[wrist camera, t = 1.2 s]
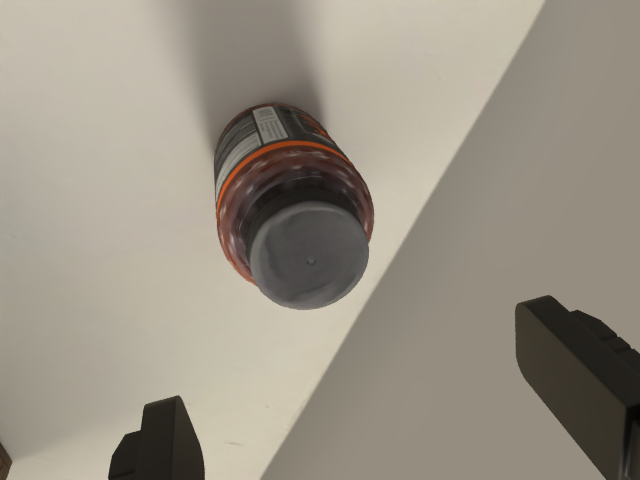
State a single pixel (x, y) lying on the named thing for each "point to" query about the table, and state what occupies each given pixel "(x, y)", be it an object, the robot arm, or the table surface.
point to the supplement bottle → (291, 207)
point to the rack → (4, 464)
